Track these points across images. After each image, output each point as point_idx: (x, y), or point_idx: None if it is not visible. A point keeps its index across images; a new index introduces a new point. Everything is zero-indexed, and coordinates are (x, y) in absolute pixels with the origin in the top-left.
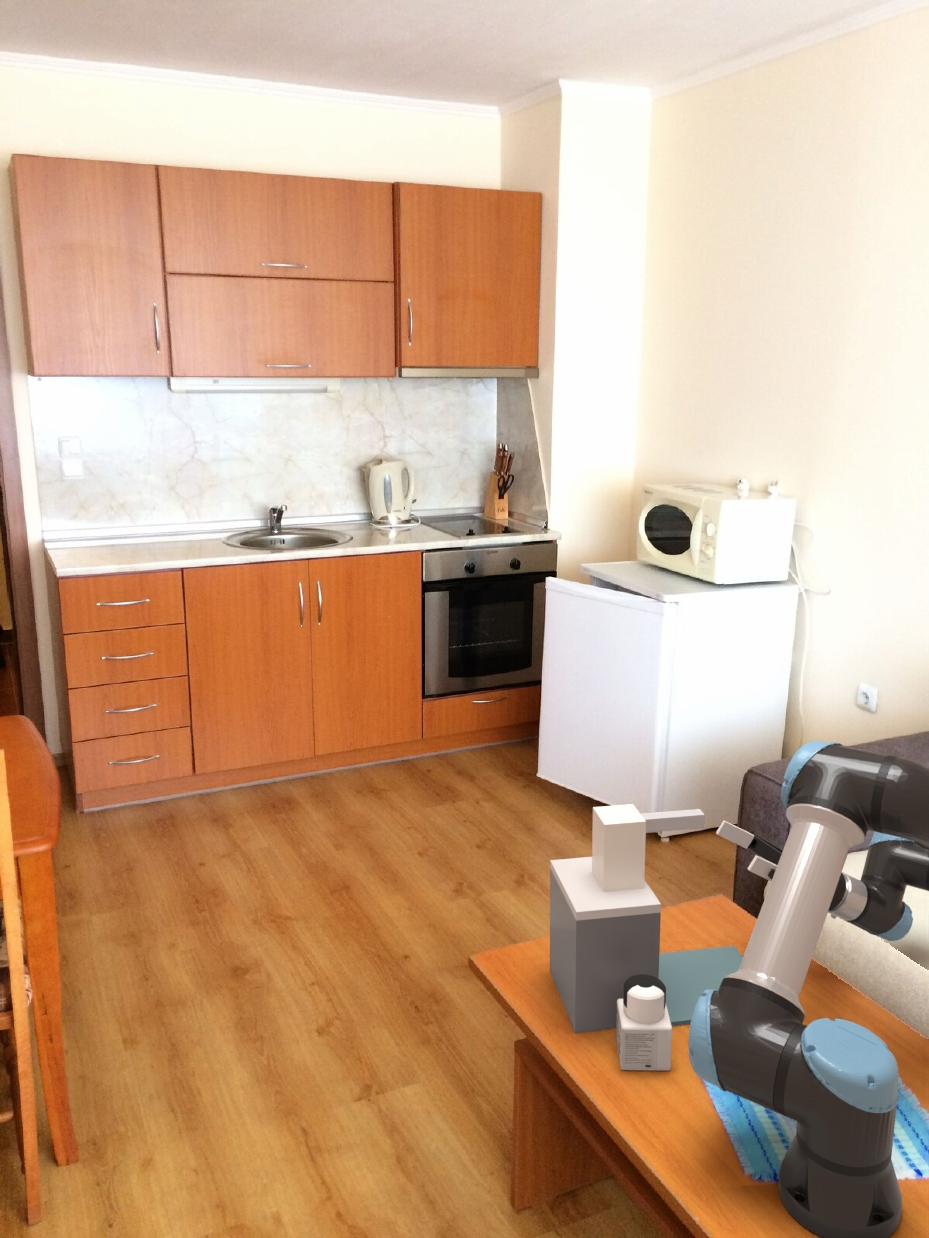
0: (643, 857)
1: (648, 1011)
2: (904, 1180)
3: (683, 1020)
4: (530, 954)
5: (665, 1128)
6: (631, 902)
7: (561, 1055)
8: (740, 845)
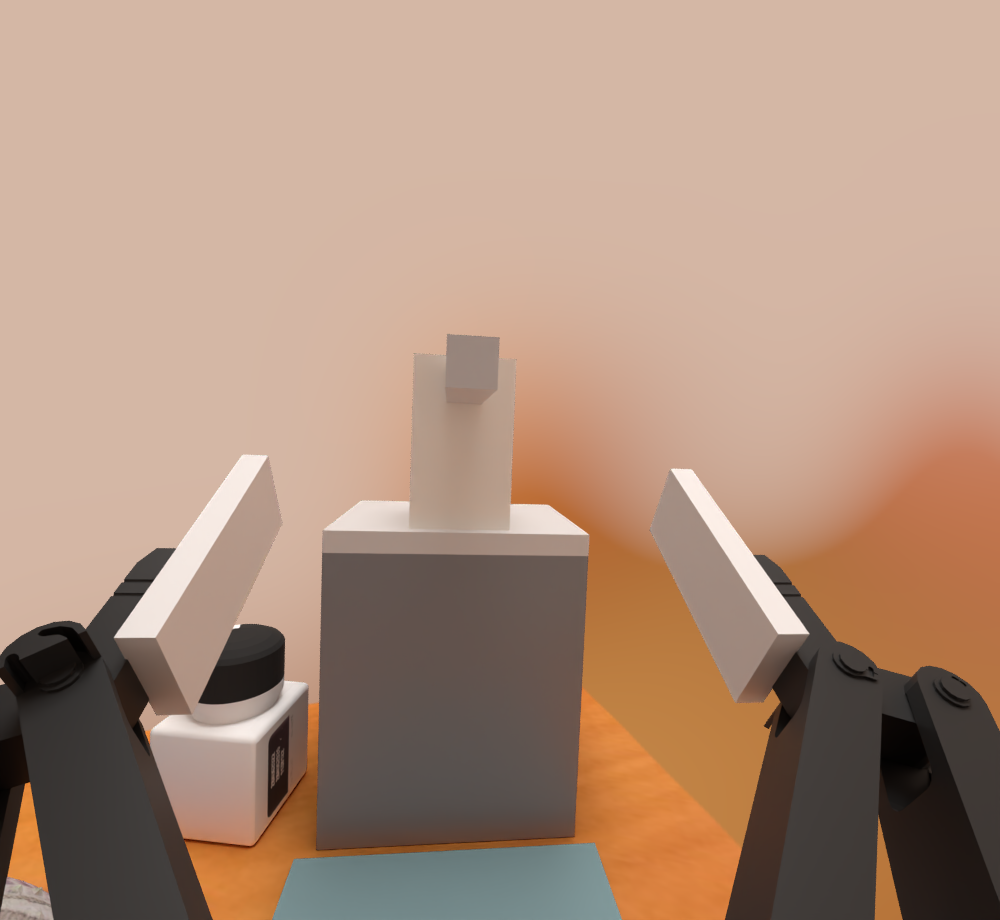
0: (411, 447)
1: None
2: None
3: (280, 900)
4: (590, 707)
5: (25, 790)
6: (356, 518)
7: (311, 706)
8: (710, 650)
